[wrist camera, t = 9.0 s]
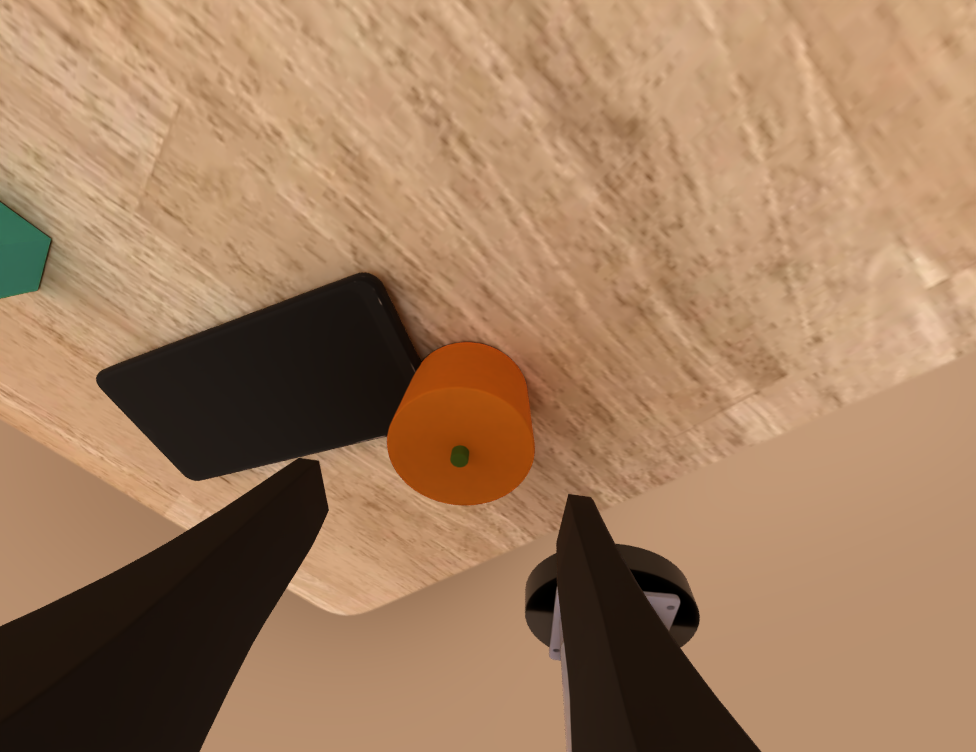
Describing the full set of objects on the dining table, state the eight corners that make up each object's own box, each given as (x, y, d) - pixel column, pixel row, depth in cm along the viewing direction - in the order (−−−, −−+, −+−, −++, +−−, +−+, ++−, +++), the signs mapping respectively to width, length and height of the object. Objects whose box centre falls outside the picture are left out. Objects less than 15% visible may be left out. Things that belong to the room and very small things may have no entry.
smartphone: (445, 424, 16) (190, 485, 19) (449, 413, 16) (202, 473, 20) (369, 269, 13) (85, 376, 16) (378, 264, 13) (104, 367, 17)
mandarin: (525, 443, 17) (532, 517, 13) (417, 442, 17) (393, 514, 13) (529, 341, 14) (540, 394, 11) (404, 341, 15) (370, 394, 11)
